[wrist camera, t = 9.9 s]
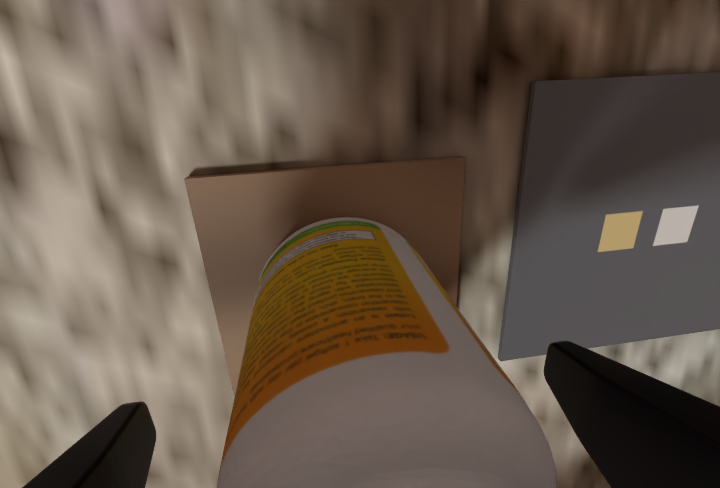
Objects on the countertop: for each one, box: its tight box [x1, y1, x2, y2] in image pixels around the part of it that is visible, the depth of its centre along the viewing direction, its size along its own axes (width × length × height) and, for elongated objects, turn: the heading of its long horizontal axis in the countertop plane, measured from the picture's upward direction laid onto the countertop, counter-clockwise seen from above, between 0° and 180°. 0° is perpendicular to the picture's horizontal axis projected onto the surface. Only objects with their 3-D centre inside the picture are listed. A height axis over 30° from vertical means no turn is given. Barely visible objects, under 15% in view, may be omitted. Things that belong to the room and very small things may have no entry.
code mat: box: [498, 72, 720, 361], centre depth 13 cm, size 10×10×1 cm
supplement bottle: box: [217, 217, 557, 488], centre depth 8 cm, size 5×5×10 cm
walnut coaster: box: [184, 156, 466, 395], centre depth 12 cm, size 8×8×1 cm
